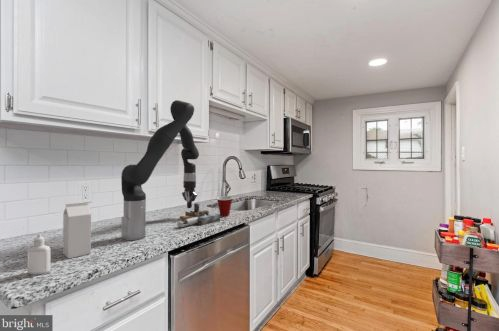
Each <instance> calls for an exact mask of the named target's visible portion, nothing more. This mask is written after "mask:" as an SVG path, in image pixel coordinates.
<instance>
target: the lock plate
mask: <svg viewBox="0 0 499 331" xmlns="http://www.w3.org/2000/svg"><path fill="white" fill-rule="evenodd" d="M209 212H210V211H209V210H207V209H204V210H199V212H198V213H199V216H195V212H194V210H190V211H185V215H179V221H182V222H184V220H185V219H189V218H194V217H198V223H196V224H195V225H199V226H205V225H209V224H213V223H218V222H220V221H221V216H220V213H211V214H209ZM204 214H206V216H204Z"/></svg>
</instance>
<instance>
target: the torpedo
mask: <svg viewBox="0 0 499 331" xmlns="http://www.w3.org/2000/svg"><path fill="white" fill-rule="evenodd" d="M196 223H198V217H194V218H189V219H185V220H184V221H183V220H178V221H177V225H176V226H177V227H179V228H183V227H188V226H191V225H197V224H196Z"/></svg>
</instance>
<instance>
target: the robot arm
mask: <svg viewBox="0 0 499 331" xmlns="http://www.w3.org/2000/svg"><path fill="white" fill-rule="evenodd" d="M194 106H195V105H193V104H192V103H189V102H187V101H183V100H178V99H177V100H174V101H172V103H171V104H170V108H169V109H170V115H171V117H172V121H171V122H169V123H167V124H165V125H162V126H160V127H159V128H158V129H157V130H156V131H155V132H154V133H153V135H152V136H151V137H150V138H149V141H148V145H147V148H146V151H145V153H144V155H143V157H142V158H141V159H140V160H139V161H138V162H137V163H136V164H128V165H126V166H125V167H123V169H122V171H121V176H120V177H121V194H122V196H123V216H121V224H120V225H121V228H120V229H121V232H120V234H121V237H120V238H121V239H122V240H125V241H127V242H128V241H138V240H141V239H144V238H146V232H147V231H146V222H147V220H146V213H147V212H146V211H147V209H146V207H147V205H146V204H147V202H146V201H147V200H146V199H147V195H146V192H145V191H144V190H143V187H142V186H143V185H144V184H146V183H147V181H148V180H149V179H150V177H151V176H152V173H153V172H154V170H155V169H156V166H158V163H159V162H160V161H161V159H162V158H163V156H164V154H165V153H166V151H168V149H169V148H170V146H172V144H173V142H174V140H175V139H176V137H177V136H178V135H179V138H180V141H181V145H182V147H183V148H182V150H181V152H180V155H181V159H182V163H183V178H182V179H183V181H182V183H183V187H182V188H184V190H183V192H181V195H182V197H183V199H184V201H185V202H186V205H187V206H186V208H187V209H192V207H193V206H192V205H193V202H195V200H196V198H197V197H198V193H196V188H197V185H196V183H197V175H196V174H197V173H196V170H197V167H196V166H197V165H196V164H195V163H192V162H189V160H197V159H198V158H199V155H200V154H199V153H200V152H199V150H198V148H197V146H196V144H195V142H194V137H193V133H192V131H191V130H190V128H189V127H188V126H187V124H188V122H189V121H191V119H192V118H193V115H194V113H195V107H194Z"/></svg>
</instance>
